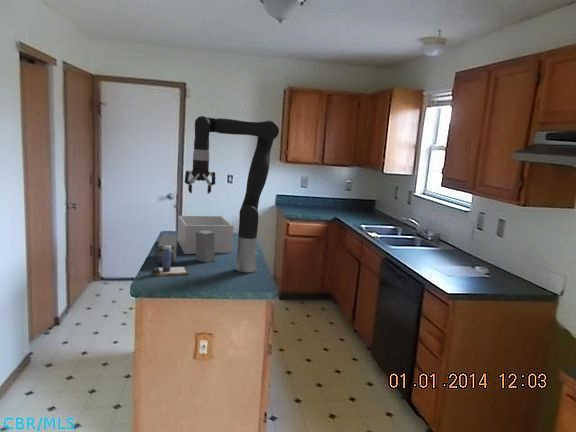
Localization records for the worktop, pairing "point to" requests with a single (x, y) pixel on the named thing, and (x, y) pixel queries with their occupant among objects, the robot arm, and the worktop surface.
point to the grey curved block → (169, 241)
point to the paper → (173, 270)
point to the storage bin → (208, 223)
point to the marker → (166, 258)
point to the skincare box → (205, 246)
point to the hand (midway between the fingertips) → (199, 193)
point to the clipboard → (170, 273)
